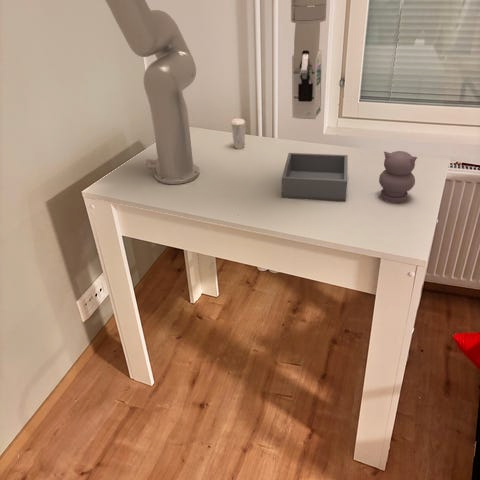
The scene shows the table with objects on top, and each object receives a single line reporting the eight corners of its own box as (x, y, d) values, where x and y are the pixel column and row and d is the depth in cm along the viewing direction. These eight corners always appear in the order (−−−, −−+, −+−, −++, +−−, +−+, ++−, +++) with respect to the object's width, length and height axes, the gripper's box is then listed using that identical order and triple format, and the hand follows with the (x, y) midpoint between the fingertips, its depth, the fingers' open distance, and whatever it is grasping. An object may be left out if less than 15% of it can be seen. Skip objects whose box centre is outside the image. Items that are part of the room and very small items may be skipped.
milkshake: (243, 151, 146) (242, 120, 141) (229, 148, 149) (227, 117, 143) (251, 146, 149) (250, 115, 144) (237, 143, 152) (235, 113, 146)
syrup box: (315, 119, 110) (318, 54, 103) (291, 118, 112) (291, 54, 104) (320, 112, 115) (323, 49, 107) (297, 110, 117) (297, 49, 109)
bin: (281, 197, 120) (281, 177, 117) (288, 171, 133) (288, 152, 130) (345, 201, 117) (347, 181, 114) (345, 173, 130) (347, 155, 127)
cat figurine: (414, 193, 119) (422, 148, 113) (409, 207, 113) (417, 161, 107) (380, 187, 123) (386, 143, 116) (373, 200, 117) (379, 155, 110)
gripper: (295, 8, 109) (294, 86, 119) (286, 20, 95) (286, 108, 105) (328, 7, 108) (324, 86, 117) (323, 19, 94) (320, 108, 103)
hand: (306, 96), depth 111 cm, fingers closed on syrup box, 6 cm apart
